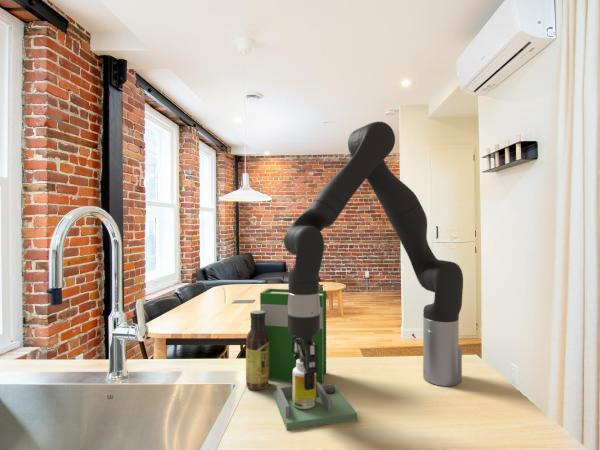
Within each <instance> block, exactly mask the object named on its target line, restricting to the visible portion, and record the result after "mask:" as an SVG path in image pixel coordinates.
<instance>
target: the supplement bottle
mask: <svg viewBox="0 0 600 450" xmlns="http://www.w3.org/2000/svg"><path fill="white" fill-rule="evenodd" d="M309 367H312V365H311V363H309ZM314 380H315V387H314V389H312V390H305V388H304V369H303V364H302V363H301V362H300V358H299V359H297V360H296V367H295V368H294V369H293V381H292V384H291V385H292V402H293V405H294V406H295V407H297V408H299V409H310V408H312V407H314V406H315V404H316V373H314Z"/></svg>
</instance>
